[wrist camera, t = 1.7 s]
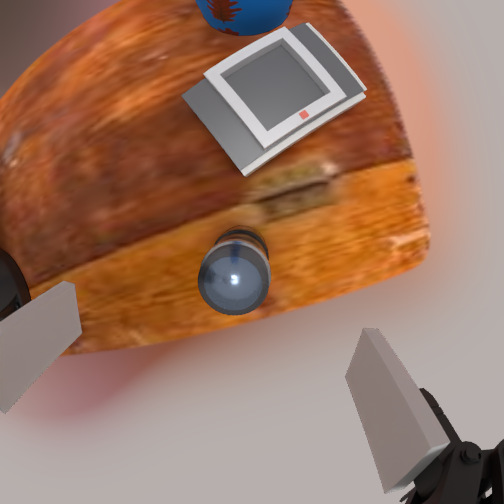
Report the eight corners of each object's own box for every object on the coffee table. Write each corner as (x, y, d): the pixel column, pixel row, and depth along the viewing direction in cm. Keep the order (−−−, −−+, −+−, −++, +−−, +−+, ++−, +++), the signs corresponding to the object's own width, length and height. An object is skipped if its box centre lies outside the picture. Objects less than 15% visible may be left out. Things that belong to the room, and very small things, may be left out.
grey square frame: (247, 176, 27) (242, 175, 21) (193, 108, 26) (175, 90, 19) (355, 105, 25) (379, 88, 18) (302, 41, 23) (311, 11, 16)
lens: (236, 283, 30) (226, 330, 21) (205, 243, 29) (179, 275, 20) (278, 255, 29) (286, 292, 20) (247, 213, 28) (240, 230, 19)
